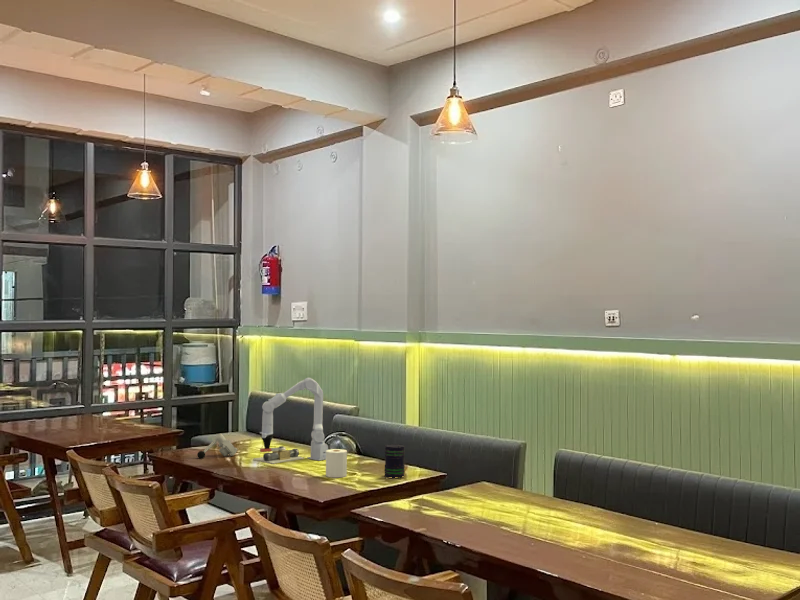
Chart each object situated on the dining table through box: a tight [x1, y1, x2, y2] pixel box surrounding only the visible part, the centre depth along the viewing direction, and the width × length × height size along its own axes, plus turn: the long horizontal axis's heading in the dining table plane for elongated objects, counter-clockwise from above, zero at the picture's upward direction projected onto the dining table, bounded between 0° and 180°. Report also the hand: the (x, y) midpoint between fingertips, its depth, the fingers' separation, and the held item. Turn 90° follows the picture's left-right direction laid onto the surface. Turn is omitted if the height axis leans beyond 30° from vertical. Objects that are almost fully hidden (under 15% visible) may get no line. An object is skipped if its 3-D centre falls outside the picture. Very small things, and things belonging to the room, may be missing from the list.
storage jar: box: [383, 443, 406, 479], centre depth 374 cm, size 10×10×15 cm
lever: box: [259, 445, 287, 453], centre depth 411 cm, size 14×4×2 cm, turn 117°
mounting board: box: [252, 455, 305, 465], centre depth 415 cm, size 16×22×1 cm
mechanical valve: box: [196, 433, 238, 460], centre depth 418 cm, size 10×18×15 cm
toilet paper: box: [325, 448, 348, 478], centre depth 374 cm, size 10×10×12 cm
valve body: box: [262, 448, 300, 461], centre depth 413 cm, size 6×21×5 cm, turn 138°
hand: (266, 449), depth 412 cm, fingers closed, pressing on lever
